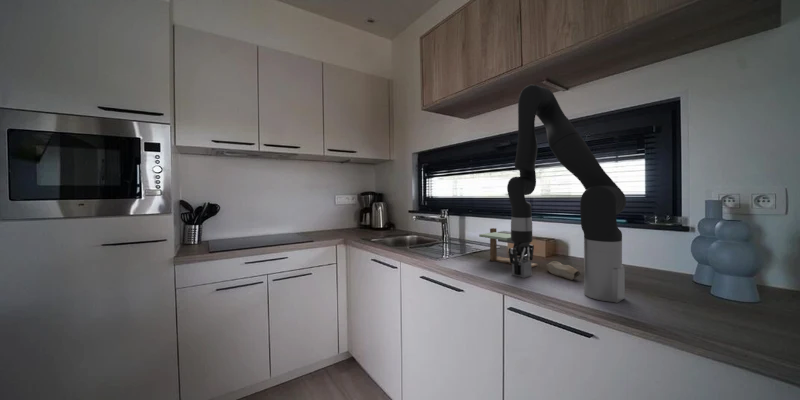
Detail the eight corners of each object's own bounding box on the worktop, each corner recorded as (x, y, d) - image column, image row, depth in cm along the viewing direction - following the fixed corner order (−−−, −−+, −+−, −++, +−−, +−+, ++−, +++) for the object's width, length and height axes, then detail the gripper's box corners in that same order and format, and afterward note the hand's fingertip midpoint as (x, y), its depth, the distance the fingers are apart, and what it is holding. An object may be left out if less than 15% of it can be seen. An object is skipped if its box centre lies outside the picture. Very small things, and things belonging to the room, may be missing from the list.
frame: (537, 265, 121) (537, 231, 120) (528, 268, 116) (528, 232, 116) (498, 258, 136) (498, 227, 136) (489, 260, 132) (489, 228, 131)
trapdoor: (531, 243, 123) (531, 233, 122) (507, 249, 112) (507, 238, 112) (503, 240, 134) (503, 230, 133) (479, 244, 123) (479, 234, 123)
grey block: (531, 275, 107) (531, 261, 106) (524, 277, 104) (524, 263, 104) (519, 272, 111) (519, 258, 111) (512, 274, 108) (511, 260, 108)
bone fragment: (544, 271, 113) (544, 259, 113) (559, 270, 113) (559, 259, 113) (565, 281, 99) (565, 268, 99) (583, 281, 100) (583, 268, 99)
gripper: (520, 231, 100) (520, 279, 100) (540, 228, 108) (541, 272, 108) (501, 229, 106) (501, 274, 106) (522, 226, 114) (522, 268, 114)
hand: (521, 273), depth 107 cm, fingers closed on grey block, 5 cm apart
